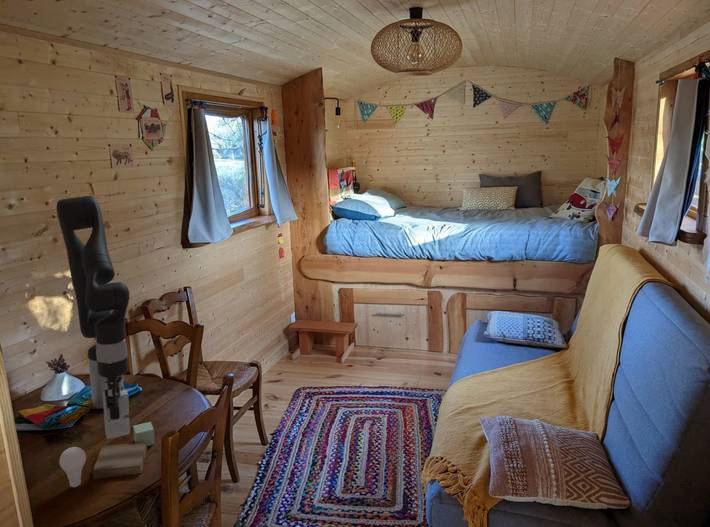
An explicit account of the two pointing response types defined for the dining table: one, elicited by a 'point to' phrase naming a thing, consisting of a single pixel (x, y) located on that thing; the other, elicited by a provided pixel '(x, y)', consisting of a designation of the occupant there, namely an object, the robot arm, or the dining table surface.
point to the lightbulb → (73, 464)
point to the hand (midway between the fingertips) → (116, 413)
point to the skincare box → (122, 424)
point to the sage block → (144, 433)
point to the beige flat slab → (120, 460)
